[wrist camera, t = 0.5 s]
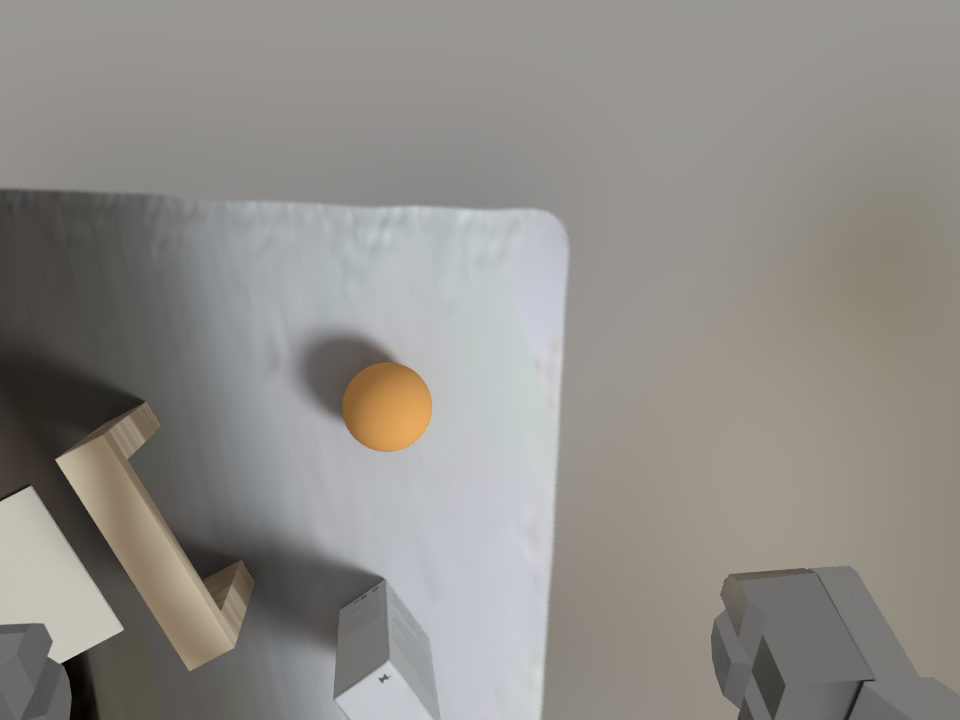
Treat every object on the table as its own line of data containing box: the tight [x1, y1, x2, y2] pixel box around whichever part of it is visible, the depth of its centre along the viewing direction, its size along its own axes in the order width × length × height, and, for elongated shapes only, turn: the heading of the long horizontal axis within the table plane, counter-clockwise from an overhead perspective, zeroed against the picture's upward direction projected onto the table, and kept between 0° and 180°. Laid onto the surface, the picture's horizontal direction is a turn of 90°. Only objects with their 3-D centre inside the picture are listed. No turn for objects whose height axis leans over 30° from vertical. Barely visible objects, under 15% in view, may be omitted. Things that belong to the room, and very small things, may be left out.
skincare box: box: [333, 580, 441, 720], centre depth 57 cm, size 6×4×12 cm
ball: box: [342, 362, 432, 452], centre depth 58 cm, size 6×6×6 cm
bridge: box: [55, 402, 255, 671], centre depth 55 cm, size 3×15×10 cm, turn 26°
